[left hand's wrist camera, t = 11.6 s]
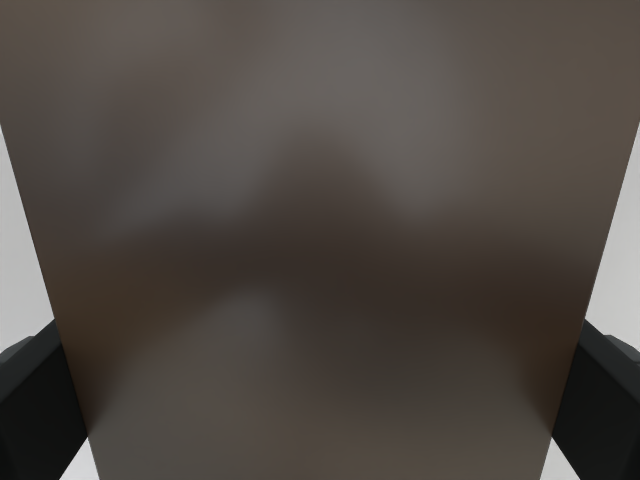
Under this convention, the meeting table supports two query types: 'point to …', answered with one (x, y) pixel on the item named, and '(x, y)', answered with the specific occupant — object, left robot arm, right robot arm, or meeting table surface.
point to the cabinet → (319, 224)
